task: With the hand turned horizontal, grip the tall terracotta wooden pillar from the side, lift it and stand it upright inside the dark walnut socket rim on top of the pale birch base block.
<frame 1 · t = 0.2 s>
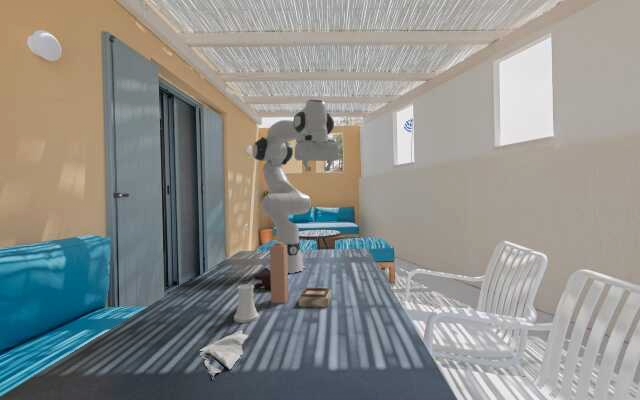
hand: (318, 171, 144), 48 cm above the table, tool pointing down, fingers open, 8 cm apart
base: (315, 301, 121), on the table
cloth: (225, 354, 84), on the table
pillar: (279, 300, 123), on the table
vase: (246, 318, 106), on the table
icecream: (271, 289, 140), on the table
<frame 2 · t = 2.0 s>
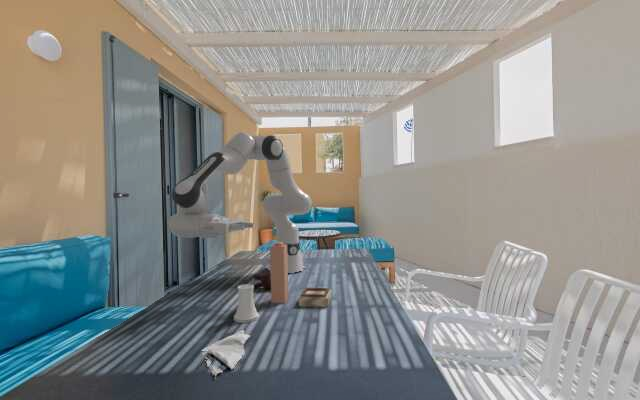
hand: (248, 226, 125), 27 cm above the table, tool horizontal, fingers open, 8 cm apart
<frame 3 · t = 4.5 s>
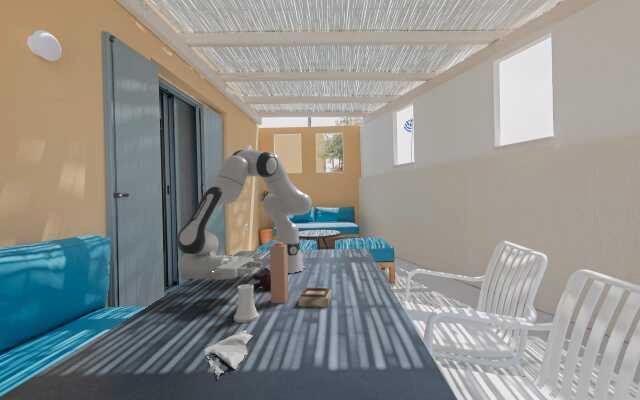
hand: (257, 267, 124), 12 cm above the table, tool horizontal, fingers open, 8 cm apart
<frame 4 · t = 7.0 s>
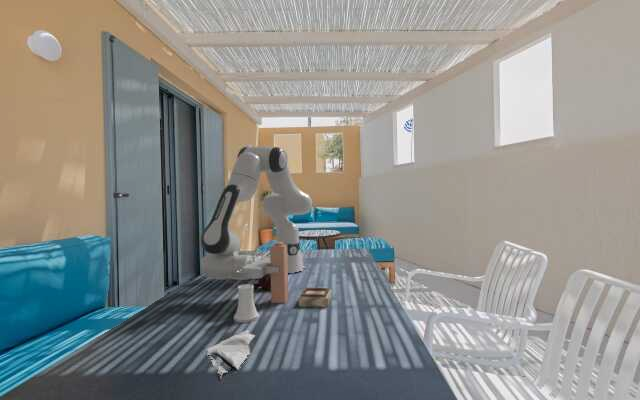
hand: (281, 267, 123), 12 cm above the table, tool horizontal, fingers closed on pillar, 5 cm apart
pillar: (280, 300, 123), on the table, touching gripper
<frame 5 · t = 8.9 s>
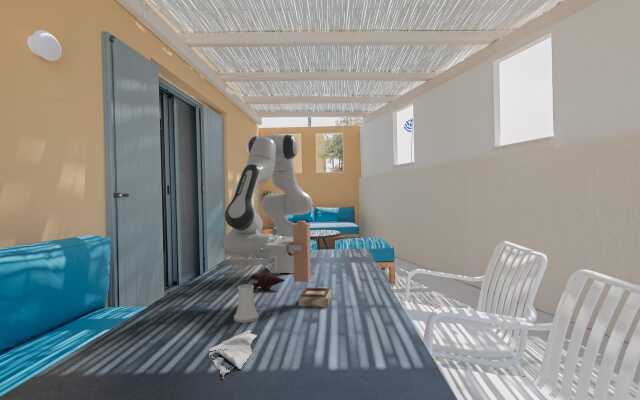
hand: (304, 246, 121), 20 cm above the table, tool horizontal, fingers closed on pillar, 5 cm apart
pillar: (302, 279, 122), point 8 cm above the table, touching gripper
when the fingers open (16 cm above the table, at t = 10.8 s): pillar drops 1 cm, resting on base.
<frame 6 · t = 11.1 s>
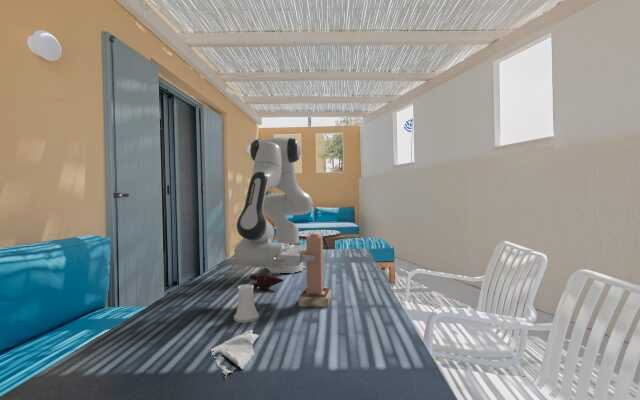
hand: (317, 255, 121), 16 cm above the table, tool horizontal, fingers open, 8 cm apart
pillar: (315, 293, 121), point 3 cm above the table, touching base
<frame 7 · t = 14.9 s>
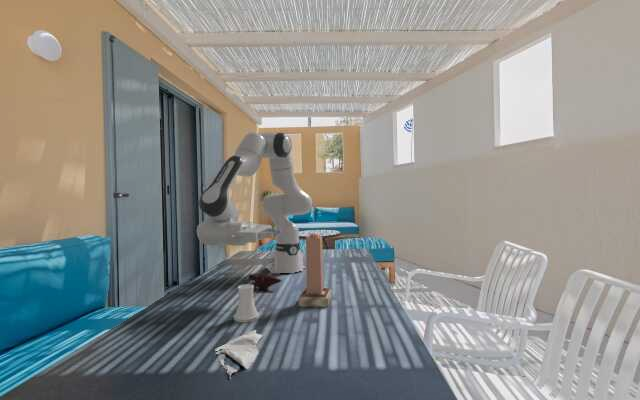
hand: (277, 233, 123), 24 cm above the table, tool horizontal, fingers open, 8 cm apart
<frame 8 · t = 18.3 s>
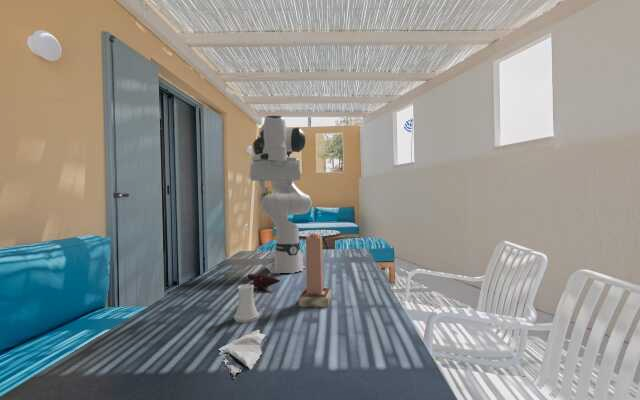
hand: (276, 192, 133), 39 cm above the table, tool pointing down, fingers open, 8 cm apart
at the end: pillar 0.1 cm off-centre on the base, point 3.0 cm above the base's base; pillar tilted 0°; the gripper is holding nothing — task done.
